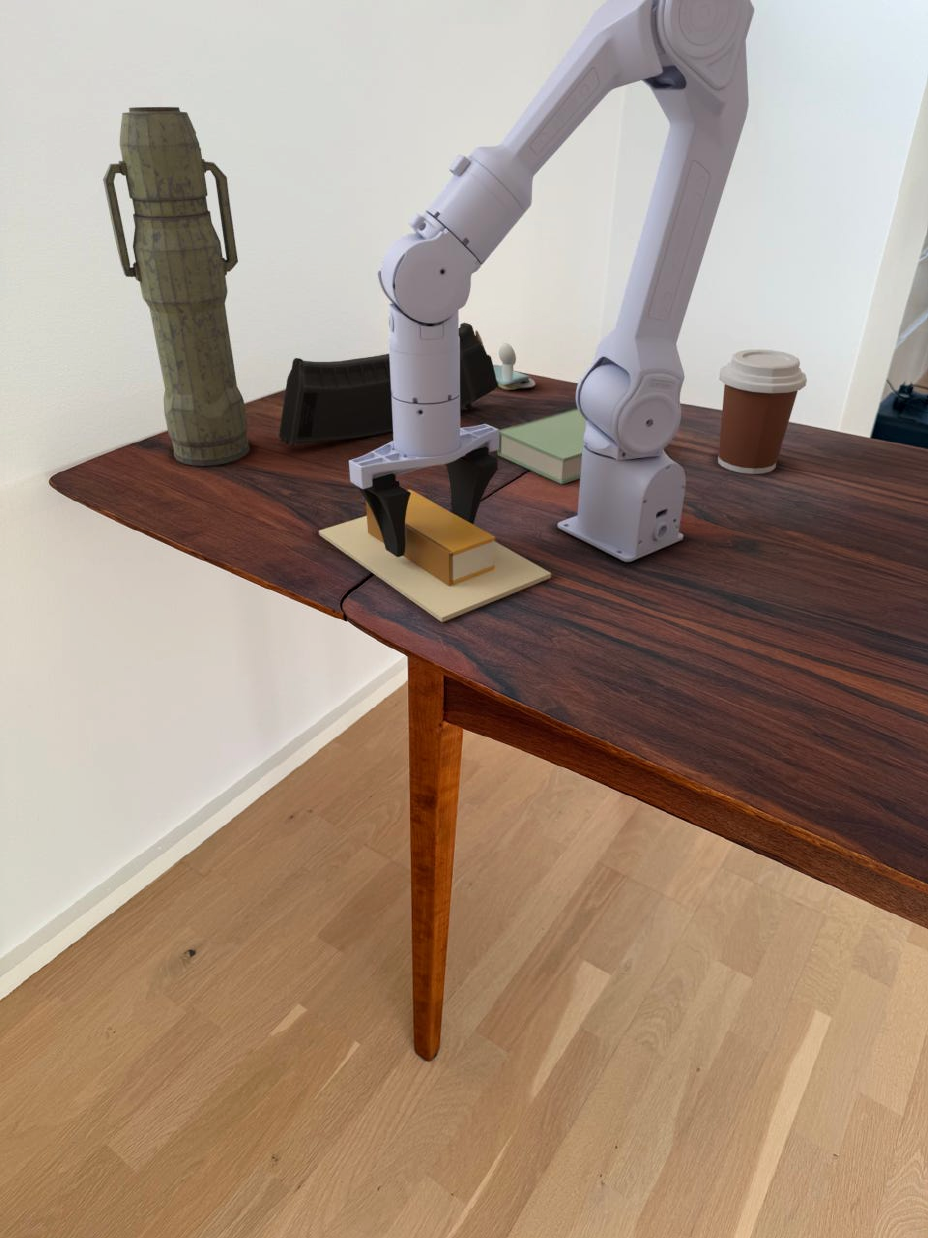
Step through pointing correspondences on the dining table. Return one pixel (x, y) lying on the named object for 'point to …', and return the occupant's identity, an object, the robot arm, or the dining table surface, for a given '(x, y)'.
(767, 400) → the coffee cup (beverage)
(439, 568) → the pocket book
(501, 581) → the mat
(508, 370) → the pacifier
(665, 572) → the dining table surface
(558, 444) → the hardback
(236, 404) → the green canister
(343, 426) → the magazine
